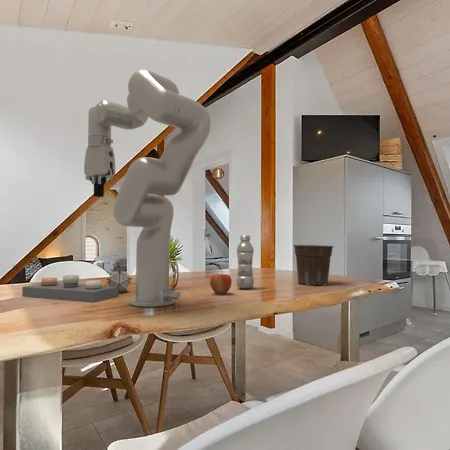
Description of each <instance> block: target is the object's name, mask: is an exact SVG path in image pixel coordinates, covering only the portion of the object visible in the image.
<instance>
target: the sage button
mask: <svg viewBox="0 0 450 450" xmlns="http://www.w3.org/2000/svg"><path fill="white" fill-rule="evenodd" d="M62 283H64V288H74V287H78V284H79V283H80V275H78V274H76V275H75V274H70V275H68V274H67V275H62Z"/></svg>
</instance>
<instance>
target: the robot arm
mask: <svg viewBox="0 0 450 450" xmlns="http://www.w3.org/2000/svg"><path fill="white" fill-rule="evenodd" d="M127 89H128V93H127V97H126V104H127V106H126V105H123V104H120V103H116V102H113V101H110V100H106V99H102V100H101V101H99V102H97V104H96V105H95V106H92V107H90V108H89V110H88V123H87V124H88V128H87V129H88V130H87V133H88V134H87V137H88V138H87V145H88V146H87V147H86V149H85V150H86V151H85V156H84V163H83V165H84V166H83V167H84V169H83V171H84V175H85V177H84V178H85V180H86V181H90V183H91V184H92V185H93V196H94V197H97V198H104V193H105V186H106V185H107V182H108V181H109V180H112V179H113V177H114V176H115V175H116V158H115V152H114V148H113V147H112V144H113V143H114V140H113V139H112V127H115V128H120V129H122V130H134V129H139V128H141V127H143V126H144V125H145V124H146V123H147V121H148V119H149V118H150V119H151V120H153V121H154V122H155V123H156V122H157V123H159V124H162V125H165V126H169V127H173V128H175V129H179V130H180V132H178V133H177V134H175V135H174V136H173V137H172V138H171V139H170V140H169V141H168V142H167V144H166V145H165V147H164V150H163V153H162V154H161V155H160V158H153V157H149V156H144V157H138V158H137V159H135V160H134V161H133V162H131V164H130V166H129V167H128V169H127V171H126V174H125V176H124V179H123V181H122V182H121V183H122V184H121V186H120V188H119V191H118V194H117V196H116V197H115V201H114V204H113V218H114V220H115V221H116V223H117V224H119V225H121V226H124V227H131V228H133V227H135V228H137V227H138V228H142V229H141V232H140V233H139V235H138V237H137V241H136V251H135V252H136V258H135V260H136V262H135V264H136V265H135V269H136V270H135V273H136V274H135V277H136V278H135V297H132V298H131V299H130V301H129V303H130V305H132V306H135V307H141V308H142V307H144V308H152V307H153V308H155V307H165V306H171V305H173V304H175V300H180V299H181V292H180V291H173V287H172V286H170V259H171V258H170V252H171V251H170V249H171V248H170V247H171V229H172V223H173V219H174V211H175V209H174V205H173V203H172V202H171V201H170V199H169V198H167V197H166V196H175V195H176V194H178V193H179V192H180V190H181V188H182V186H183V184H184V182H185V181H186V178H187V176H188V174H189V171H190V170H191V168H192V166H193V164H194V161H195V160H196V157H197V155H198V153H200V150H201V148H202V147H203V146H204V144H205V143H206V141H207V139H208V136H209V133H210V131H211V117H210V114H209V111H208V109H206V107H205V106H203V104H201V103H199V101H196V100H194V99H192V98H189V97H187V96H184V95H182V94H180V92H179V88H178V86H177V85H176V83H174V81H172V80H170V79H169V78H167V77H165V76H162V75H159V74H157V73H156V72H153V71H151V70H148V69H139V70H137V71H135V72H134V73H133V74H132V75H131V76H130V78H129V80H128V85H127Z"/></svg>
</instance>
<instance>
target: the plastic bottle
mask: <svg viewBox="0 0 450 450" xmlns="http://www.w3.org/2000/svg"><path fill="white" fill-rule="evenodd" d="M239 240H240V243H239V244H238V246H237V248H236V256H237V277H236V287H237V288H238V289H243V290H248V289H251V288H252V289H253V286H254V284H255V283H254V282H255V280H254V273H253V258H254V257H253V256H254V247H253V245H252V243H251V235H248V234H247V235H242V234H241V235H240V239H239Z"/></svg>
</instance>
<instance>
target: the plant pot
mask: <svg viewBox="0 0 450 450" xmlns="http://www.w3.org/2000/svg"><path fill="white" fill-rule="evenodd" d="M293 248H294V254H295V259H296V260H295V261H296V272H297V283H298V284H300V283H301V285H304V284H309V285H308V286H318V284H320V285H319V286H325V285H324V284H327V285H329V274H330V265H331V256H332V254H333V248H334V246H333V245H316V244H294V245H293Z"/></svg>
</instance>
